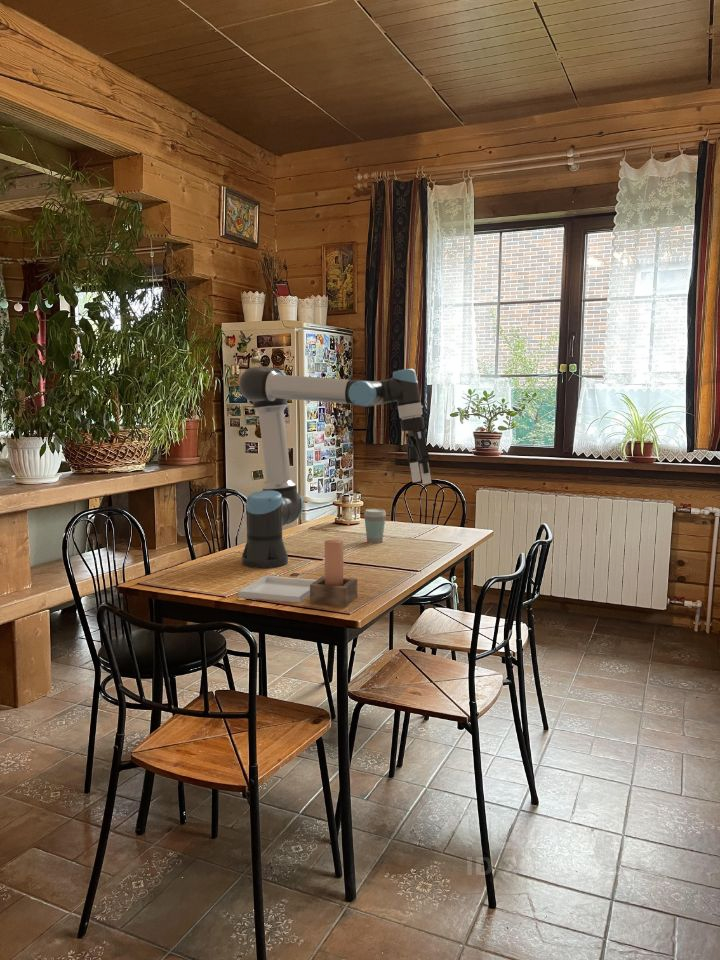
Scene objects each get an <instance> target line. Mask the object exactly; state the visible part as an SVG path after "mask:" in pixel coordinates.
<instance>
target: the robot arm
mask: <svg viewBox="0 0 720 960" xmlns="http://www.w3.org/2000/svg"><path fill="white" fill-rule="evenodd" d="M238 387H239V392H240V394H241V395H242V396H243V397H244V399H246V400H247V401H250V402H252V405H253V410H254V411H256V412H257V413H258V420H259V427H260V436H261V444H262V445H261V446H262V454H263V462H264V463H263V464H264V473H265V480H266V482H265V484H264V486H263V487H262V490H260V491H254V492H251V493H249V495H248V496H247V498H246V505H245V509H246V514H245V515H246V543H245V545H244V549H243V553H242V555H241V564H242V566H245V567H249V568H257V569H269V568H277V567H283V566H285V565H287V564H288V561H289V560H288V558H289V556H288V552H287V549H286V547H285V544H284V541H283V540H284V539H283V526H285V525H289V524H291V523H293V522H296V520H297V519H298V518H300V516H301V515H302V512H303V510H304V501H303V500H304V499H303V497H302V496H301V494H299V492H298V490H297V484H296V482H295V481H293V479H292V473H291V465H290V464H291V463H290V456H289V447H288V440H287V439H288V437H287V430H286V420H285V410H286V408H287V407H288V400H293V401H308V402H317V403H318V402H321V403H332V404H333V403H334V404H346V405H354V406H355V405H356V406H358V407H359V406H361V407H366V408H367V407H374V406H379V405H384V404H388V403H395V402H396V403H397V410H398V416H399V417H398V418H399V419H400V427H401V432H407V433H405V439H406V440H405V441H406V458H407V459H406V460H407V461H408V463H409V467H410V475H411V480H412V483H419V482H422V485H428V484H432V478H431V477H432V476H431V470H430V463H429V461H431V458H430V455H429V452H428V448H427V444H426V440H425V436H424V432H423V431H420V429H425V427H426V426H425V419H424V417H423V416H422V415H423V408H424V405H423V404H422V402H421V394H420V389H419V381H418V377H417V373H416V370H415V369H414V368H405V369H398V370H395V371H393V372H392V377H391V378H388V379H382V380H364V379H362V380H360V379H359V380H357V379H344V378H343V379H341V378H328V377H319V376H318V377H315V376H305V375H304V376H301V375H290V374H289V375H287V374H286V373H285V372H283V370H281V369H278V368H276V367H272V366H271V367H269V366H268V367H267V366H266V367H264V366H262V367H261V366H252V367H250V368H247V369H246V370H245V371H243V373H242V374H241V375H240V377H239V382H238Z"/></svg>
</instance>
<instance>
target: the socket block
mask: <svg viewBox="0 0 720 960" xmlns="http://www.w3.org/2000/svg"><path fill="white" fill-rule="evenodd" d="M315 580H316V581H315V582H314V583H312V584H311V585H310V595H309V604H310V605H319V606H320V605H321V606H331V607H341V608H347V607H348V606H349V605H350V604H351V603H352V602H353V601H354V600H356V599H357V598H358V578H350V577H343V586H333V585H325V575H322V576H321V577H319V578H318V579H315Z"/></svg>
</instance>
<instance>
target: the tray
mask: <svg viewBox="0 0 720 960" xmlns="http://www.w3.org/2000/svg"><path fill="white" fill-rule="evenodd" d="M316 580H317V579H311V578H299V577H288V576H287V577H285V576H277V575H276V576H275V575H264V576H262V577H260V578H258V579H257V580H255V581H253V582H251V583H250V584H248V585H246V586H244V587H243V588H241V589H238V591H237V599H238V598H244V599H252V600H255V601H257V600H269V601H280V602H287V603H288V602H291V603H301V602H302V601H304V600H305V599H307V598H308V597H310V585H311V584H312V583H314V582H315V581H316Z"/></svg>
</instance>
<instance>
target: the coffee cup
mask: <svg viewBox="0 0 720 960" xmlns="http://www.w3.org/2000/svg"><path fill="white" fill-rule="evenodd" d="M386 516H387V513H386V510H385V509H382V508H368V509H367V508H366V509H365V510H364V513H363V517H364V524H365V532H366V533H365V535H366V542H367V543H369V544H370V543H371V544H379V543H380V544H382V543H383V540H384V539H383V538H384V530H385V522H386Z"/></svg>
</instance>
